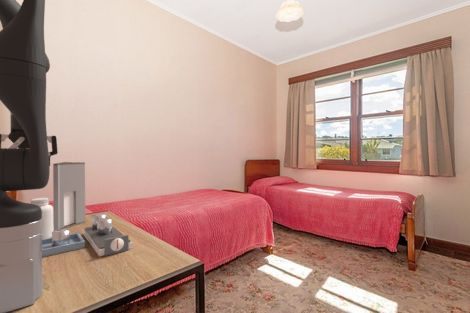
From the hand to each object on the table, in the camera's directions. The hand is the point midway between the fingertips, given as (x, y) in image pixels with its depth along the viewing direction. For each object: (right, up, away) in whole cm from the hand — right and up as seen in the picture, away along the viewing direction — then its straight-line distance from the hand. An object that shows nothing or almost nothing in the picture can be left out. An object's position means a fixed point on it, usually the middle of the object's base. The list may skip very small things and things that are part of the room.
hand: (27, 169), depth 72 cm
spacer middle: (+14, -25, +17) cm, 33 cm away
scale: (+14, -27, +17) cm, 35 cm away
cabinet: (-12, -27, +38) cm, 48 cm away
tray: (+3, -27, +10) cm, 29 cm away
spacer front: (+2, -27, +10) cm, 29 cm away
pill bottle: (-12, -27, +19) cm, 35 cm away
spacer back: (+8, -25, +24) cm, 35 cm away
